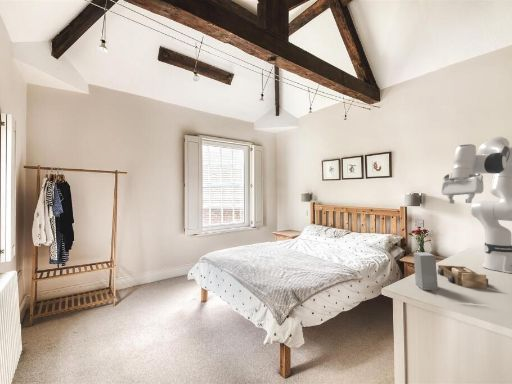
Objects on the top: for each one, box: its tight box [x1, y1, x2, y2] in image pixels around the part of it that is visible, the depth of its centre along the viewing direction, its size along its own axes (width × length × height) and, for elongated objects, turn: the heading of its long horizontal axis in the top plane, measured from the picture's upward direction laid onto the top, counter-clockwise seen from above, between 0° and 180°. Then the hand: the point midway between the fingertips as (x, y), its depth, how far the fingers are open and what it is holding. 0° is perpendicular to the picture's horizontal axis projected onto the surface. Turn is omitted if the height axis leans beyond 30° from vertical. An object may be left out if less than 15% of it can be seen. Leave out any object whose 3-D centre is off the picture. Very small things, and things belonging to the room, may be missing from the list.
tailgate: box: [461, 273, 488, 289], centre depth 118 cm, size 9×1×6 cm, turn 75°
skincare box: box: [413, 251, 439, 291], centre depth 120 cm, size 8×7×16 cm
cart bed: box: [437, 264, 489, 289], centre depth 129 cm, size 15×21×4 cm
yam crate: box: [452, 268, 472, 280], centre depth 129 cm, size 6×6×5 cm
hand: (459, 203), depth 127 cm, fingers open, 8 cm apart
